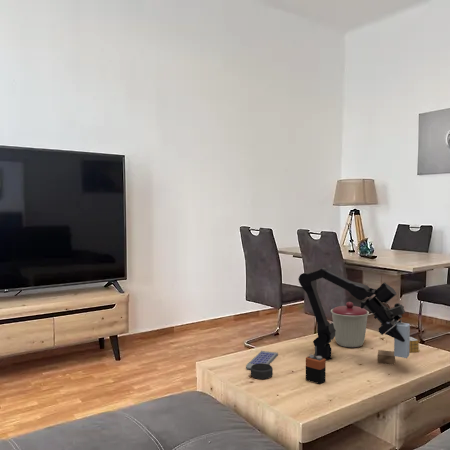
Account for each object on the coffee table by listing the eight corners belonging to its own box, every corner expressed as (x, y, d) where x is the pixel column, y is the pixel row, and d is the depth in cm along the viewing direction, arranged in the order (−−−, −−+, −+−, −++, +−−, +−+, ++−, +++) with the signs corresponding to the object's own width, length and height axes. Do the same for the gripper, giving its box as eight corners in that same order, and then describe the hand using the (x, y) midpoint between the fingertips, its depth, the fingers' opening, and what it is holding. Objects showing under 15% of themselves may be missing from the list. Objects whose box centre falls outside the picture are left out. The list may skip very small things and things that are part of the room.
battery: (320, 384, 181) (320, 359, 181) (305, 380, 186) (305, 355, 186) (326, 381, 185) (326, 356, 184) (311, 377, 189) (311, 352, 189)
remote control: (278, 356, 216) (278, 352, 216) (262, 373, 195) (262, 368, 195) (261, 354, 219) (261, 350, 219) (244, 370, 198) (244, 365, 198)
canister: (325, 340, 239) (325, 298, 238) (360, 338, 241) (360, 297, 240) (338, 351, 221) (338, 306, 220) (375, 349, 223) (375, 305, 222)
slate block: (394, 356, 193) (394, 324, 193) (396, 352, 198) (397, 322, 197) (406, 358, 191) (407, 326, 190) (409, 354, 195) (409, 323, 194)
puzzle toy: (407, 353, 217) (407, 341, 217) (400, 349, 223) (400, 337, 222) (418, 352, 218) (418, 340, 218) (411, 348, 224) (411, 336, 224)
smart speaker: (277, 376, 191) (277, 366, 191) (262, 382, 185) (262, 372, 185) (260, 370, 198) (260, 361, 197) (246, 376, 191) (246, 366, 191)
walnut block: (377, 363, 204) (377, 354, 204) (378, 358, 211) (378, 349, 211) (394, 365, 202) (394, 356, 202) (395, 360, 208) (395, 351, 208)
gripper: (387, 302, 187) (416, 333, 182) (397, 294, 203) (424, 322, 198) (367, 319, 192) (394, 350, 186) (378, 309, 207) (404, 338, 202)
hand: (405, 339), depth 193 cm, fingers closed on slate block, 5 cm apart
